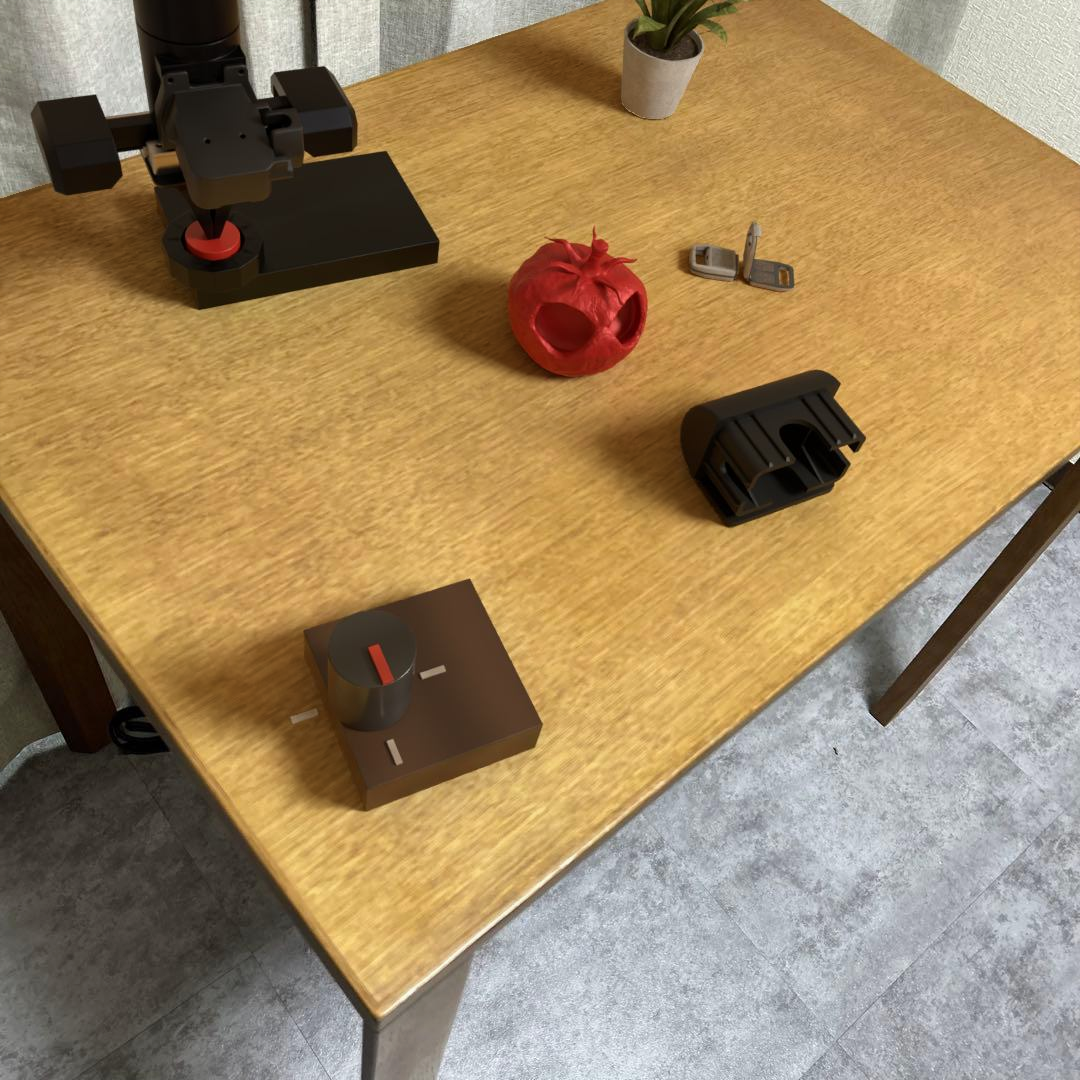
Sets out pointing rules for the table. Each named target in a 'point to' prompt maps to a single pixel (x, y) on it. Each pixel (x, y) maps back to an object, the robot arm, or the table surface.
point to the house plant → (665, 52)
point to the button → (212, 242)
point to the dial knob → (371, 670)
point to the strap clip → (727, 264)
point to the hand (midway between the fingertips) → (212, 235)
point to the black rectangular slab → (306, 232)
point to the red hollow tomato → (576, 307)
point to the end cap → (769, 446)
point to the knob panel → (435, 700)
